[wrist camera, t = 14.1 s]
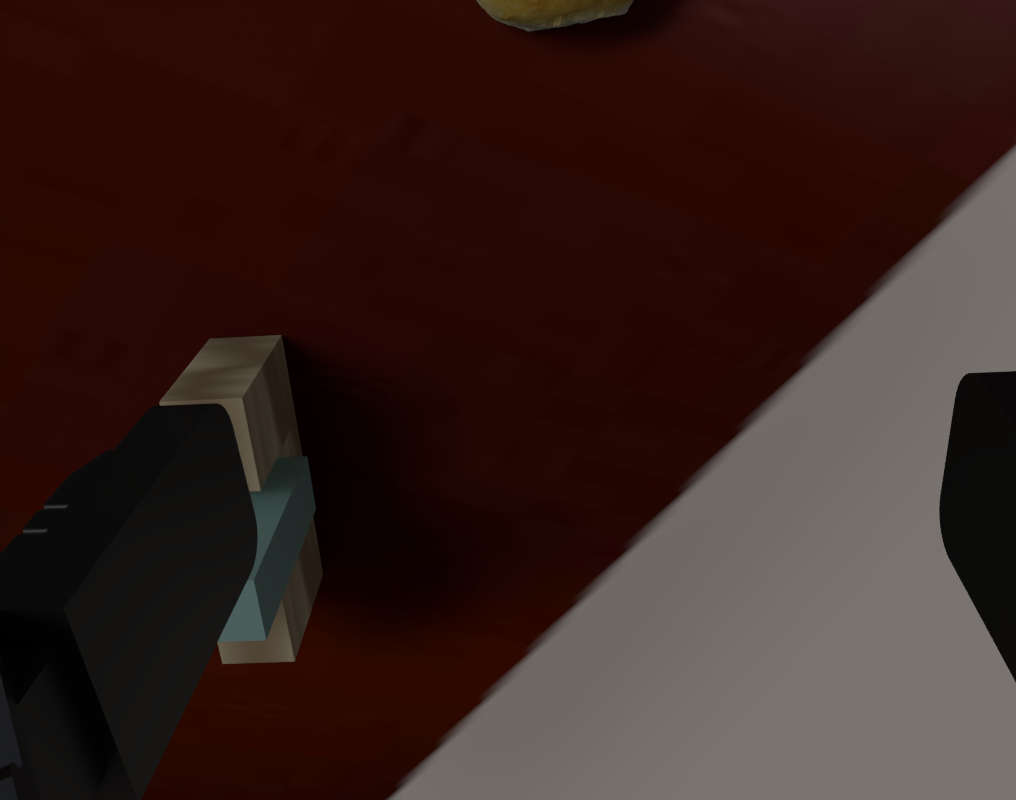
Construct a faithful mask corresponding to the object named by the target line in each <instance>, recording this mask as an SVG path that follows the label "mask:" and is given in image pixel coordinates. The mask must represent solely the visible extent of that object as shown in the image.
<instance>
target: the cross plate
mask: <svg viewBox="0 0 1016 800" xmlns="http://www.w3.org/2000/svg"><path fill="white" fill-rule="evenodd" d="M249 492H250V496H251V500H252V504H253V508H254V512H255V516H256V522H257V533H258V542H257V553H256V559H255V563H254V567H253V569H252V572H251V574H250V576H249V578H248V580H247V582H246V584H245V587H244V589H243V591H242V593H241V595H240V597H239V599H238V601H237V603H236V605H235V607H234V609H233V611H232V613H231V615H230V617H229V619H228V621H227V623H226V626H225V628H224V630H223V632H222V634H221V636H220V638H219V640H218V642H233V641H265V640H267V637H268V635H269V632H270V629H271V627H272V624H273V621H274V619H275V616H276V613H277V611H278V608H279V606H280V603H281V600H282V598H283V595H284V592H285V590H286V587H287V584H288V582H289V579H290V576H291V574H292V571H293V568H294V566H295V563H296V560H297V558H298V555H299V552H300V550H301V547H302V544H303V542H304V539H305V537H306V534H307V531H308V529H309V526H310V523H311V521H312V518H313V515H314V513H315V510H316V506H315V500H314V494H313V488H312V482H311V476H310V470H309V465H308V459H307V456H303V457H279V458H277V459H276V461H275V463H274V465H273V467H272V469H271V471H270V473H269V475H268V477H267V479H266V481H265V483H264V485H263V487H262V489H261V491H249Z"/></svg>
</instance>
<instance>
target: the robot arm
mask: <svg viewBox="0 0 1016 800" xmlns="http://www.w3.org/2000/svg"><path fill="white" fill-rule="evenodd" d="M939 511H940V527H941V534H942V538H943V543H944V546H945V549H946V552H947V555H948V557H949V559H950V561H951V563H952V565H953V567H954V568H955V570H956V572H957V574H958V576H959V578H960V579H961V581H962V583H963V585H964V587H965V589H966V590H967V592H968V594H969V596H970V598H971V600H972V602H973V604H974V605H975V607H976V609H977V611H978V613H979V615H980V617H981V618H982V620H983V622H984V624H985V626H986V628H987V630H988V631H989V633H990V635H991V637H992V638H993V641H994V642H995V644H996V646H997V648H998V650H999V652H1000V654H1001V655H1002V657H1003V659H1004V661H1005V663H1006V665H1007V667H1008V668H1009V670H1010V672H1011V674H1012V676H1013V678H1014V679H1015V681H1016V371H1011V372H989V373H969V374H966V375H965V376H964V377H963V378H962V380H961V381H960V383H959V386H958V389H957V392H956V397H955V403H954V409H953V416H952V423H951V429H950V436H949V442H948V449H947V456H946V462H945V469H944V476H943V482H942V489H941V495H940V510H939ZM257 542H258V533H257V522H256V516H255V512H254V508H253V504H252V500H251V496H250V492H249V488H248V484H247V480H246V476H245V472H244V468H243V464H242V460H241V456H240V452H239V448H238V444H237V440H236V436H235V432H234V428H233V425H232V421H231V419H230V416H229V414H228V412H227V411H226V409H225V408H224V407H223V406H222V405H221V404H218V403H211V404H188V405H164V406H153V407H151V408H150V409H148V410H147V411H146V413H145V414H144V415H143V416H142V417H141V419H140V420H139V421H138V422H137V423H136V425H135V426H134V427H133V428H132V429H131V431H130V432H129V433H128V434H127V435H126V437H125V438H124V439H123V440H122V441H121V443H120V444H119V445H118V446H117V447H116V449H115V450H107V451H106V452H104V453H103V454H101V455H100V456H98V457H97V458H95V459H94V460H92V461H91V462H89V463H87V464H86V465H84V466H83V467H81V468H80V469H78V470H77V471H75V472H74V473H72V474H71V475H69V476H68V477H67V478H66V480H65V481H64V482H63V483H62V484H61V485H60V486H59V488H58V489H57V490H56V491H55V492H54V493H53V494H52V496H51V497H50V498H49V499H48V500H47V501H46V502H45V504H44V510H38V512H37V513H36V514H35V515H34V516H33V517H32V518H31V520H30V521H29V522H28V523H27V524H26V525H25V526H24V528H23V535H17V536H16V537H15V538H14V539H13V540H12V541H11V542H10V544H9V545H8V546H7V547H6V548H5V549H4V550H3V552H2V553H1V554H0V800H141V798H142V796H143V794H144V792H145V790H146V788H147V786H148V784H149V782H150V780H151V778H152V776H153V773H154V771H155V769H156V767H157V765H158V763H159V761H160V759H161V757H162V755H163V753H164V751H165V749H166V747H167V745H168V743H169V741H170V739H171V737H172V734H173V732H174V730H175V728H176V726H177V724H178V722H179V720H180V718H181V716H182V714H183V712H184V710H185V708H186V706H187V704H188V702H189V700H190V697H191V695H192V693H193V691H194V689H195V687H196V685H197V683H198V681H199V679H200V677H201V675H202V673H203V671H204V669H205V667H206V665H207V663H208V660H209V658H210V656H211V654H212V652H213V650H214V648H215V646H216V644H217V642H218V640H219V638H220V636H221V634H222V632H223V630H224V628H225V626H226V623H227V621H228V619H229V617H230V615H231V613H232V611H233V609H234V607H235V605H236V603H237V601H238V599H239V597H240V595H241V593H242V591H243V589H244V587H245V584H246V582H247V580H248V578H249V576H250V574H251V572H252V569H253V567H254V563H255V559H256V553H257Z"/></svg>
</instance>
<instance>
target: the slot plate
mask: <svg viewBox="0 0 1016 800" xmlns="http://www.w3.org/2000/svg"><path fill="white" fill-rule="evenodd" d="M211 403H218V404H221V405H222V406H223V407H224V408H225V409H226V411H227V412H228V414H229V416H230V419H231V421H232V425H233V428H234V432H235V436H236V440H237V444H238V448H239V452H240V456H241V460H242V464H243V468H244V472H245V476H246V480H247V484H248V488H249V491H261V489H262V487H263V485H264V483H265V481H266V479H267V477H268V475H269V473H270V471H271V469H272V467H273V465H274V463H275V461H276V459H277V458H279V457H303V455H302V450H301V444H300V438H299V432H298V427H297V421H296V415H295V410H294V404H293V398H292V392H291V387H290V381H289V375H288V369H287V364H286V358H285V352H284V346H283V341H282V335H275V336H254V337H234V338H213V339H209V341H208V342H207V343H206V344H205V345H204V347H203V348H202V349H201V350H200V352H199V353H198V354H197V355H196V357H195V358H194V359H193V360H192V362H191V363H190V364H189V365H188V367H187V368H186V369H185V370H184V372H183V373H182V374H181V375H180V377H179V378H178V379H177V380H176V382H175V383H174V384H173V385H172V387H171V388H170V389H169V390H168V392H167V393H166V394H165V395H164V397H163V398H162V399H161V400H160V406H164V405H188V404H211ZM322 576H323V570H322V564H321V559H320V553H319V547H318V541H317V536H316V530H315V524H314V518H312V521H311V523H310V526H309V529H308V531H307V534H306V537H305V539H304V542H303V544H302V547H301V550H300V552H299V555H298V558H297V560H296V563H295V566H294V568H293V571H292V574H291V576H290V579H289V582H288V584H287V587H286V590H285V592H284V595H283V598H282V600H281V603H280V606H279V608H278V611H277V613H276V616H275V619H274V621H273V624H272V627H271V629H270V632H269V635H268V637H267V640H265V641H233V642H218V647H219V651H220V655H221V659H222V663H223V664H232V663H263V662H293V661H295V659H296V656H297V653H298V650H299V647H300V644H301V641H302V637H303V634H304V631H305V628H306V625H307V622H308V619H309V616H310V613H311V610H312V607H313V604H314V601H315V598H316V595H317V592H318V588H319V585H320V582H321V579H322Z"/></svg>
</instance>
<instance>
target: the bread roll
mask: <svg viewBox="0 0 1016 800" xmlns="http://www.w3.org/2000/svg"><path fill="white" fill-rule="evenodd" d="M633 1H634V0H477V2H478V3H479V4H480V6H481V7H482V8H483V9H484V10H485V11H486V12H487V13H488V14H489V15H490V16H491V17H493V18H494V19H495V20H497V21H499V22H502V23H504V24H507V25H510V26H514V27H517V28H520V29H523V30H526V31H528V32H530V31H535V30H541V29H549V28H556V27H557V28H558V27H562V26H563V27H565V26H568V25H572V24H576V23H587V22H590V21H593V20H595V19H597V18H603V17H610V16H615V15H623V14H625V13H627V11H628V9H629V7H630V5H631V4H632V2H633Z"/></svg>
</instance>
